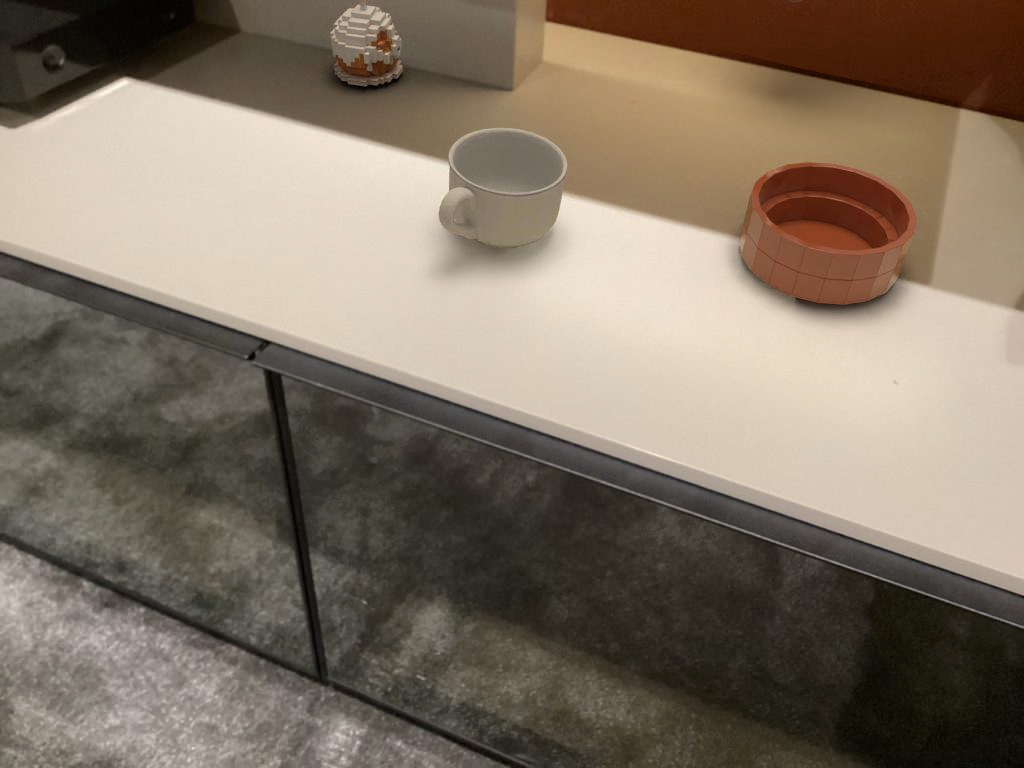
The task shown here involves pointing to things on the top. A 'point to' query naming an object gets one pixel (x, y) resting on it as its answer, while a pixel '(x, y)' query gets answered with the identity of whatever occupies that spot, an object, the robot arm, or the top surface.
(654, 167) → the top surface
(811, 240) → the bowl
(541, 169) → the teacup
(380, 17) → the decorative ornament
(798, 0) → the wooden block
